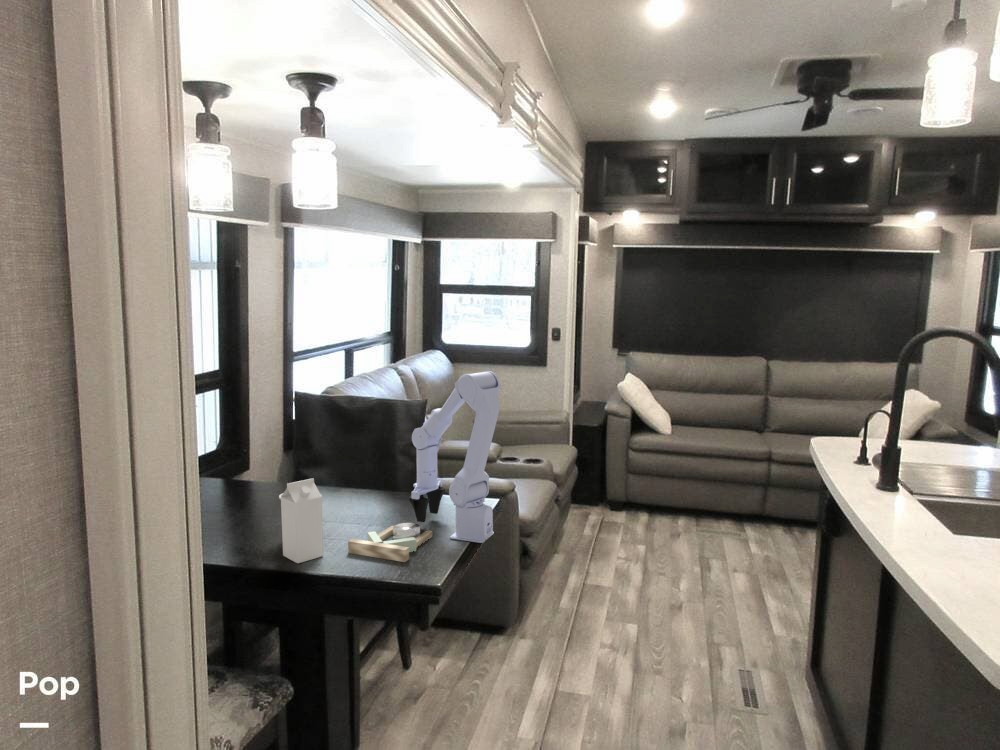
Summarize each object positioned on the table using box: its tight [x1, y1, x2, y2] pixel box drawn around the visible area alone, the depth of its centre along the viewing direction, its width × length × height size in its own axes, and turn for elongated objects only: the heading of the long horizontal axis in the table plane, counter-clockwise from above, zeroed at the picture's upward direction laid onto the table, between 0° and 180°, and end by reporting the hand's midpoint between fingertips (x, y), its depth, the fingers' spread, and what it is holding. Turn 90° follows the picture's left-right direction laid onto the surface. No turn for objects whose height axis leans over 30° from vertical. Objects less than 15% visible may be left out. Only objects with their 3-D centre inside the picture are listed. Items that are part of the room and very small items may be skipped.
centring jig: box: [347, 525, 433, 563], centre depth 181 cm, size 16×18×3 cm
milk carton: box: [280, 477, 324, 564], centre depth 172 cm, size 7×7×19 cm
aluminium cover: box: [392, 522, 421, 540], centre depth 186 cm, size 7×7×3 cm
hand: (427, 517), depth 197 cm, fingers open, 7 cm apart
